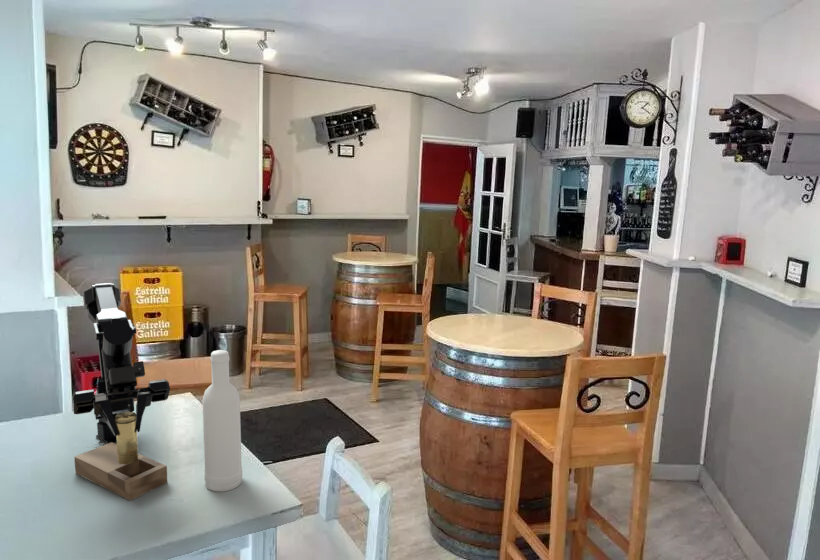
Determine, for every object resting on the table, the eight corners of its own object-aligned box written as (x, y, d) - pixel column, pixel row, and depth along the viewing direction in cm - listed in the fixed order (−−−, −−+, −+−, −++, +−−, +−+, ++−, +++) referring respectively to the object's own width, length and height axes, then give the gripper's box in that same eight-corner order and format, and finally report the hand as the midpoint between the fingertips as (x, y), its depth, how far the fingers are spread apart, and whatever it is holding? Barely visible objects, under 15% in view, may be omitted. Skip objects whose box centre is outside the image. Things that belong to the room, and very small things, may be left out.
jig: (112, 457, 148) (111, 442, 148) (167, 482, 138) (166, 465, 137) (75, 473, 141) (74, 456, 140) (130, 500, 131) (129, 482, 130)
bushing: (128, 453, 137) (126, 410, 135) (143, 457, 135) (140, 414, 133) (113, 461, 133) (110, 417, 131) (127, 466, 131) (125, 421, 129)
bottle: (208, 495, 133) (203, 359, 128) (201, 478, 140) (196, 349, 135) (246, 487, 137) (243, 355, 131) (238, 471, 144) (234, 345, 138)
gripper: (69, 355, 128) (76, 427, 121) (166, 344, 137) (178, 409, 130) (70, 379, 136) (77, 448, 129) (161, 367, 146) (172, 430, 138)
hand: (127, 433), depth 131 cm, fingers closed on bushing, 4 cm apart
